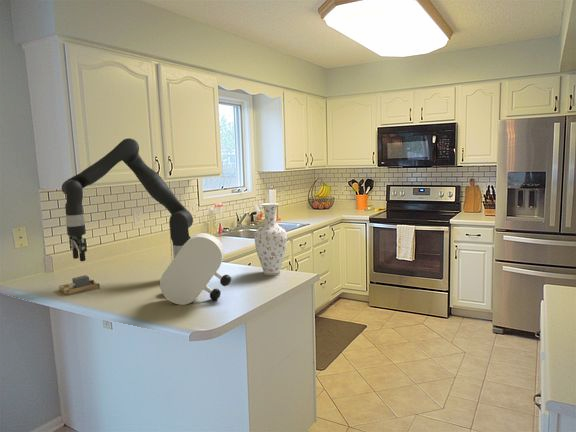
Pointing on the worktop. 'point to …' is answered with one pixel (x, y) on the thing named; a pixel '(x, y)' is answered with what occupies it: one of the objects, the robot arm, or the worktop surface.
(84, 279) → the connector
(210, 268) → the robot
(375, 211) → the worktop surface
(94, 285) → the tray
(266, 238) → the vase
